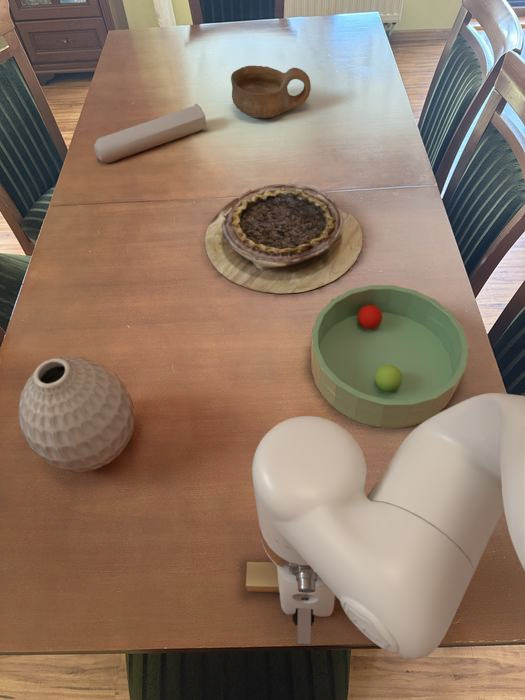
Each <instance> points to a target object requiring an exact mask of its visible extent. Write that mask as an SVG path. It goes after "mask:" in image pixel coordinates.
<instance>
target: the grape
mask: <svg viewBox="0 0 525 700" xmlns="http://www.w3.org/2000/svg"><path fill="white" fill-rule="evenodd" d="M375 382H376V384H377V386H378V387H379V388H380V389H382V390H384V391H394V390H396V389H397V388H398V387H399V386H400V385H401V383H402V374H401V372H400V370H399V369H398V368H397V367H395V366H393V365H384V366H382V367H380V368H379V369H378V370H377V372H376V374H375Z"/></svg>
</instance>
